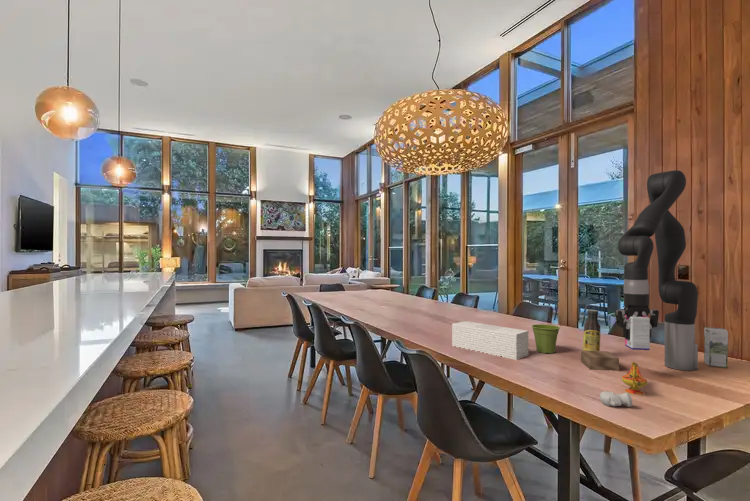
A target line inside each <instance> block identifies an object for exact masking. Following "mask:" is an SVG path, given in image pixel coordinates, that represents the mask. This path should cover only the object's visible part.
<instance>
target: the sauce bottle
mask: <svg viewBox="0 0 750 501" xmlns="http://www.w3.org/2000/svg"><path fill="white" fill-rule="evenodd" d="M586 313H587V320H586V322H585V323H584V325H583V335H582V337H583V338H582V350H584V351H601V350H600V349H601V325H600V323H599V322H598V320H599V319H598V318H599V317H598V315H599V310H596V309H587V312H586Z"/></svg>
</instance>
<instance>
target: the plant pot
mask: <svg viewBox="0 0 750 501" xmlns="http://www.w3.org/2000/svg"><path fill="white" fill-rule="evenodd" d="M530 326H531V327H532V332H533V334H534V340H535V347H536V351H537V352H538V353H542V354H547V353H548V354H554V353H555V352H556V348H557V347H556V345H557V339H558V334H559V331H560V329H561V327H560V326H559V325H552V324H544V323H543V324H539V323H538V324H531V325H530Z"/></svg>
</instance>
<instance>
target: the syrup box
mask: <svg viewBox="0 0 750 501" xmlns="http://www.w3.org/2000/svg"><path fill="white" fill-rule="evenodd" d="M703 330H704V332H703V334H704V335H703V336H704V339H703V341H704V342H703V344H704V346H703V347H704V349H703V350H704V351H703V353H704V355H703V358H704V359H703V362H704V363H705V365H707V366H708V367H714V368H723V369H724V368H725V369H726V368H728V364H729V363H728V361H729V358H728V357H729V355H728V354H729V348H728V347H729V344H728V343H729V331H728V330H727V329H725V328H723V327H706V326H705V327H704V329H703Z"/></svg>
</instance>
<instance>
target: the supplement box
mask: <svg viewBox="0 0 750 501" xmlns="http://www.w3.org/2000/svg"><path fill="white" fill-rule="evenodd" d="M625 317H626V314H625V315H624V318H625ZM630 318H631V324H630V328H629V329H630V340H627V339H625V338H624V339H625V340H624V341H625V342H624V343H625V344H624V346H625V347H627V348H629V349H630V350H633V351H650V350H651V349H650V348H651V346H650V344H651V342H650V341H651V338H650V316H649V317H648V316H647V317H630ZM630 318H628V317H627V320H630Z"/></svg>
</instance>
